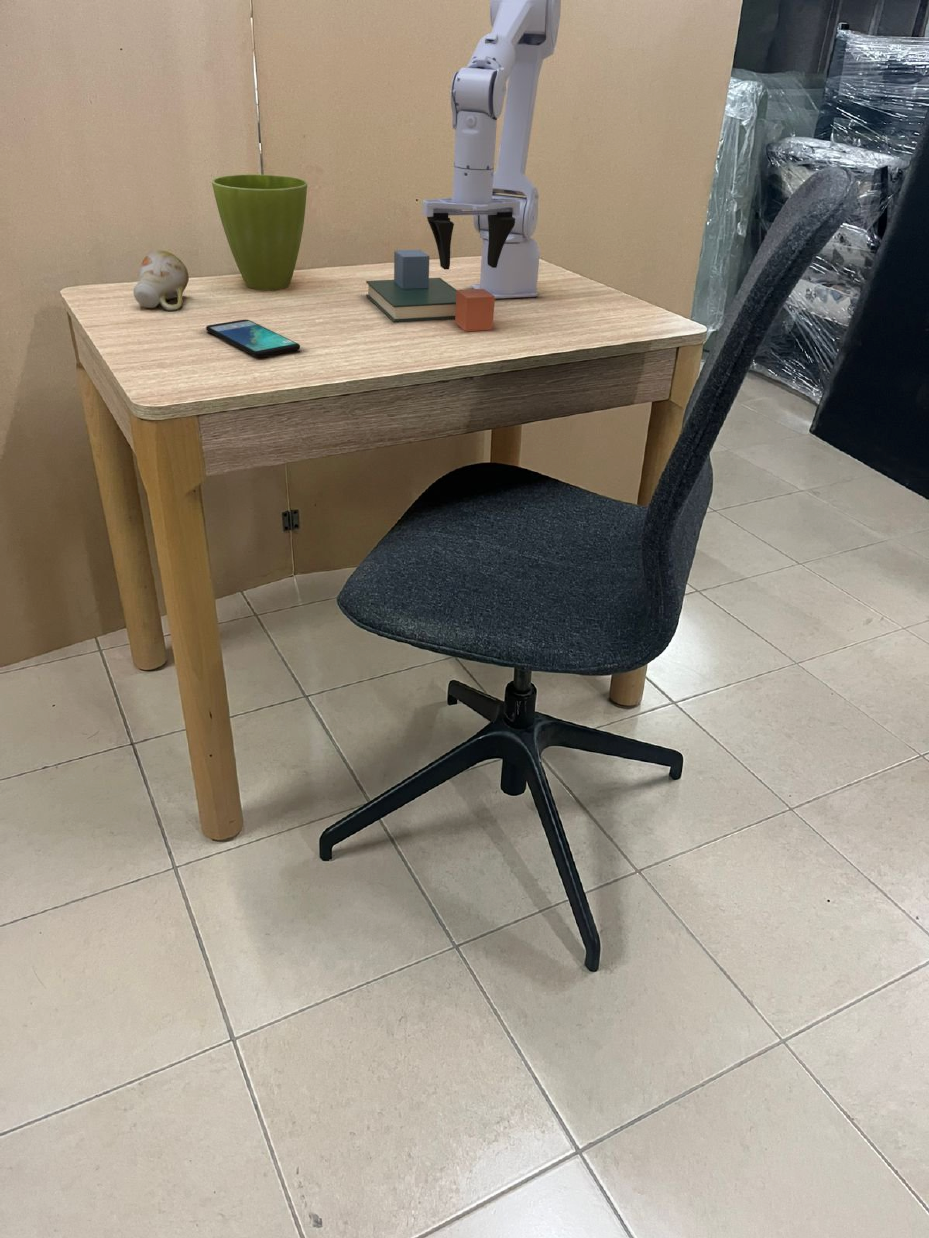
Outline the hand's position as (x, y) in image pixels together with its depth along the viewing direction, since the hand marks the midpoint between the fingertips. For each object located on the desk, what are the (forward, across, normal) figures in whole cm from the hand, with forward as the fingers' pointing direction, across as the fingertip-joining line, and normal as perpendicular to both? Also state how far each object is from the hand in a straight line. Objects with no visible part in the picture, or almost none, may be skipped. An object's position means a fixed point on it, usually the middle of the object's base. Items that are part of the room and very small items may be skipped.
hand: (468, 267), depth 136 cm
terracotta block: (+8, +1, -2) cm, 9 cm away
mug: (+9, -44, +20) cm, 48 cm away
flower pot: (+8, -26, +28) cm, 39 cm away
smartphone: (+8, -33, -2) cm, 34 cm away
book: (+8, -4, +10) cm, 14 cm away
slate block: (+6, -4, +14) cm, 16 cm away
